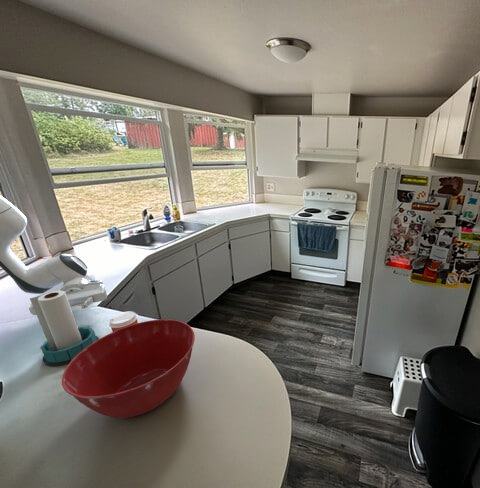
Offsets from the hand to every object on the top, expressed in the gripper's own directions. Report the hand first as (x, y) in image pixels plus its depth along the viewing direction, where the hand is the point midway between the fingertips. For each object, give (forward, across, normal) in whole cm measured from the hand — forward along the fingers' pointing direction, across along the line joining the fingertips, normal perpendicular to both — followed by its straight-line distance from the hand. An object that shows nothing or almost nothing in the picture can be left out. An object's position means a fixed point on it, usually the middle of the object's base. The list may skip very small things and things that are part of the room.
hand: (65, 310), depth 87 cm
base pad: (+6, 0, +13) cm, 14 cm away
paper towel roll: (+6, 0, +12) cm, 13 cm away
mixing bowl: (+38, +22, +13) cm, 46 cm away
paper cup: (+16, +17, +13) cm, 27 cm away
